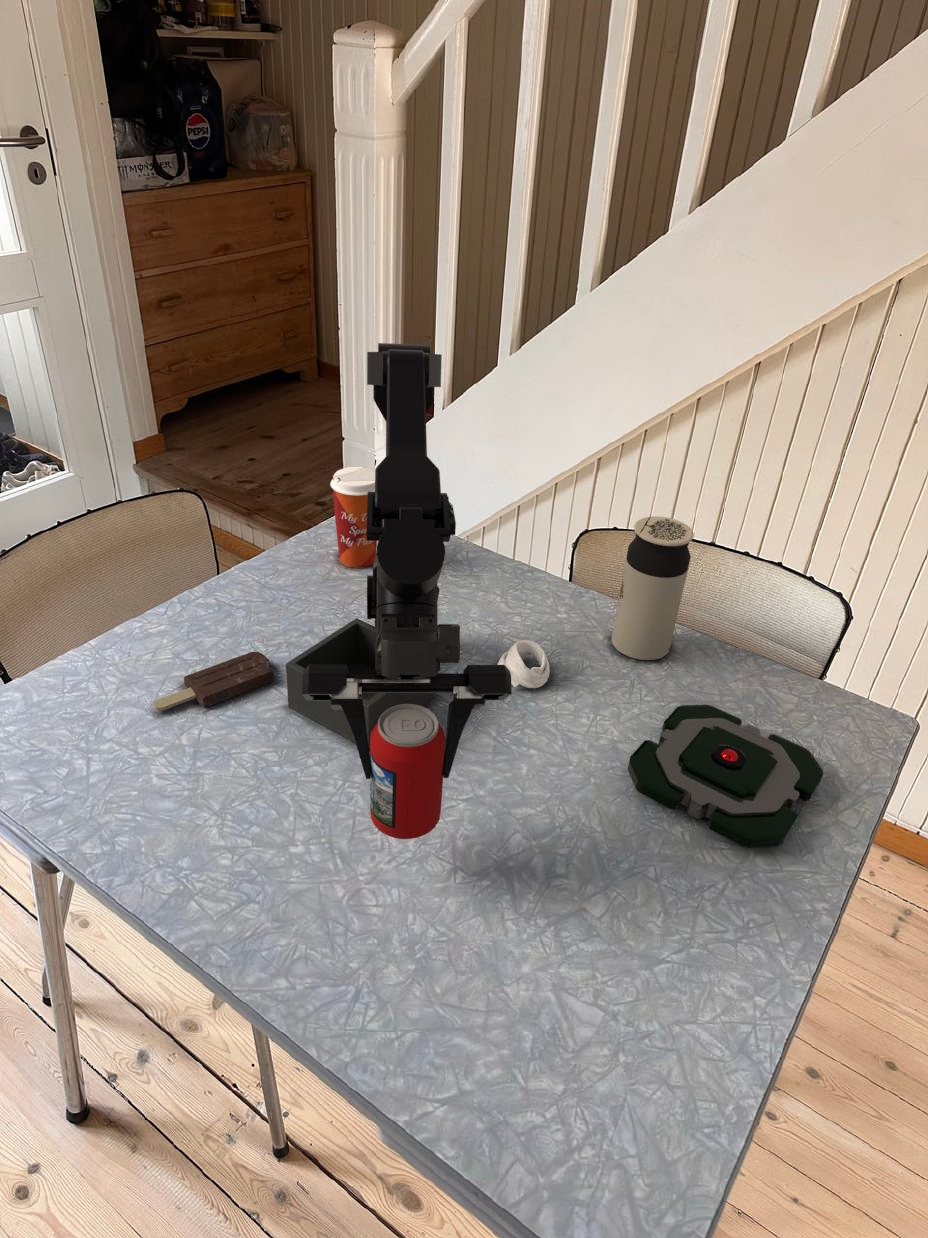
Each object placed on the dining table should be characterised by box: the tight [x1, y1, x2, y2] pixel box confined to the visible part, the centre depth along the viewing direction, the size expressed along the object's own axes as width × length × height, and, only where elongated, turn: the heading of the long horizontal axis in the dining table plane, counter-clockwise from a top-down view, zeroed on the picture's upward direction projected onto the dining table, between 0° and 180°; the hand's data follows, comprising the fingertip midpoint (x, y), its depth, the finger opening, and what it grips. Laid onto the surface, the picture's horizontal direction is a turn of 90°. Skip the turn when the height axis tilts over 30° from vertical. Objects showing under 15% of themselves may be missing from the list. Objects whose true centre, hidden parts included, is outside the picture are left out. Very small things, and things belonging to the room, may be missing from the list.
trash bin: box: [285, 617, 436, 752], centre depth 104 cm, size 13×13×6 cm
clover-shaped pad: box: [627, 703, 824, 849], centre depth 96 cm, size 18×18×5 cm
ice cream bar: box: [153, 651, 275, 711], centre depth 106 cm, size 5×2×15 cm
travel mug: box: [611, 515, 695, 661], centre depth 115 cm, size 8×8×18 cm
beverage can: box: [369, 704, 446, 840], centre depth 80 cm, size 7×7×12 cm
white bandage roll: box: [496, 639, 551, 689], centre depth 111 cm, size 8×7×5 cm
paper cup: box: [330, 466, 378, 569], centre depth 131 cm, size 8×8×14 cm
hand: (407, 778), depth 78 cm, fingers closed on beverage can, 7 cm apart
